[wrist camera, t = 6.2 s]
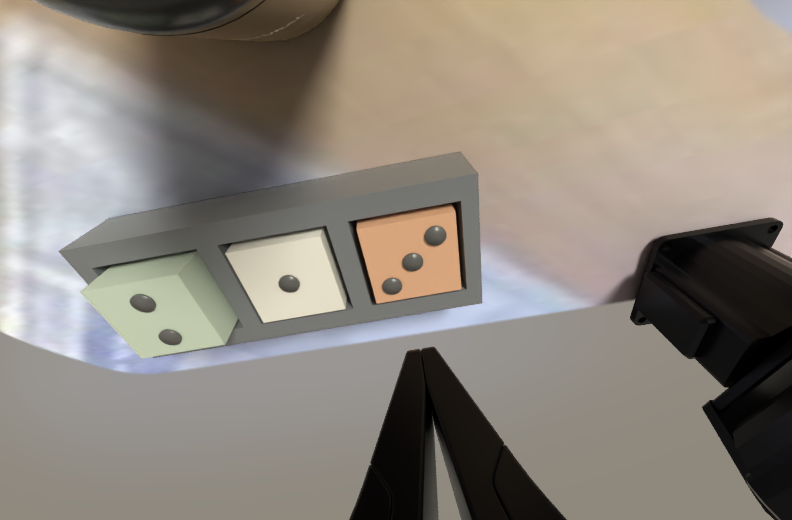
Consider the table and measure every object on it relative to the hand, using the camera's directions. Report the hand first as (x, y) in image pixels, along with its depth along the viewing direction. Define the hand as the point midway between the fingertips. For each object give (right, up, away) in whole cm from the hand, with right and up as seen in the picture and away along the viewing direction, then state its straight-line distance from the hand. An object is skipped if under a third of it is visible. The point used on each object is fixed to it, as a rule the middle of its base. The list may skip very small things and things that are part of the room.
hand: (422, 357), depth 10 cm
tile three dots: (0, +4, +6) cm, 8 cm away
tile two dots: (-11, +2, +6) cm, 13 cm away
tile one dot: (-6, +3, +7) cm, 9 cm away
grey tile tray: (-6, +4, +7) cm, 10 cm away
